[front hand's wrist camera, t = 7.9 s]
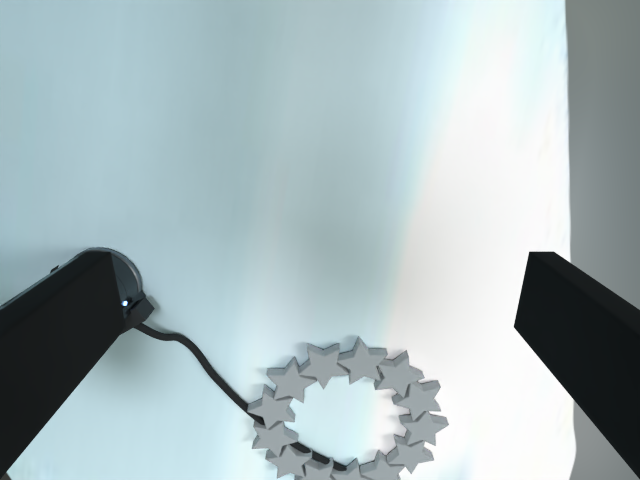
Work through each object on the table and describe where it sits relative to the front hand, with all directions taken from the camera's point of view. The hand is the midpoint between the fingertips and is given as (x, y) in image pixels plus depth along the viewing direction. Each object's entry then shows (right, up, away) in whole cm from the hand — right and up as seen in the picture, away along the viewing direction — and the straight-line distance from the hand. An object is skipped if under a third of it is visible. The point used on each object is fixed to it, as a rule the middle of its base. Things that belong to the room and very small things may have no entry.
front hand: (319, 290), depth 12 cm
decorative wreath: (+4, -26, +47) cm, 54 cm away
